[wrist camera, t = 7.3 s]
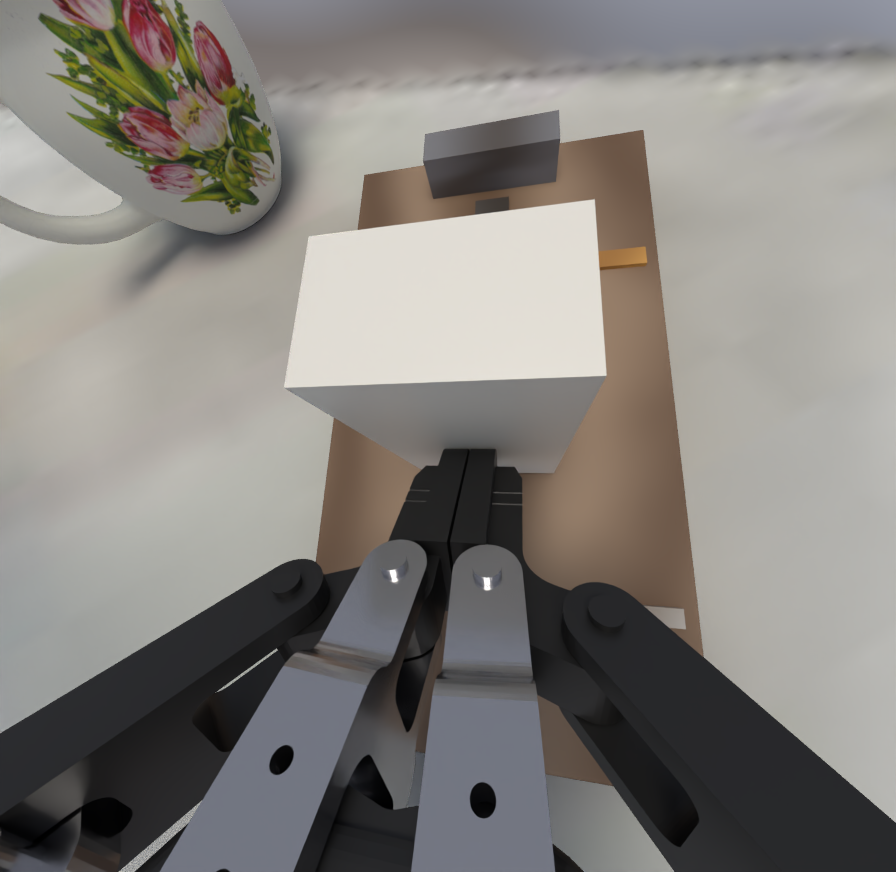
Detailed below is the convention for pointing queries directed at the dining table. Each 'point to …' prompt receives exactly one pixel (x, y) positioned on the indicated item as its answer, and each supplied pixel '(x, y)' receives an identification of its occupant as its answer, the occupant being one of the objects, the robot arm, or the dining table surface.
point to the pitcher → (141, 113)
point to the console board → (607, 420)
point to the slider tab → (456, 333)
